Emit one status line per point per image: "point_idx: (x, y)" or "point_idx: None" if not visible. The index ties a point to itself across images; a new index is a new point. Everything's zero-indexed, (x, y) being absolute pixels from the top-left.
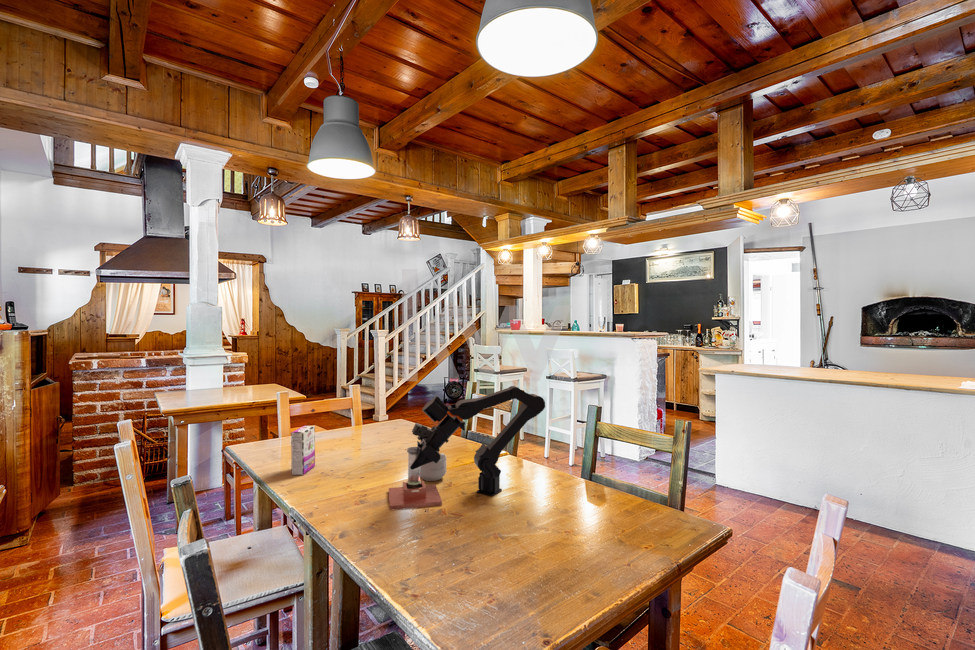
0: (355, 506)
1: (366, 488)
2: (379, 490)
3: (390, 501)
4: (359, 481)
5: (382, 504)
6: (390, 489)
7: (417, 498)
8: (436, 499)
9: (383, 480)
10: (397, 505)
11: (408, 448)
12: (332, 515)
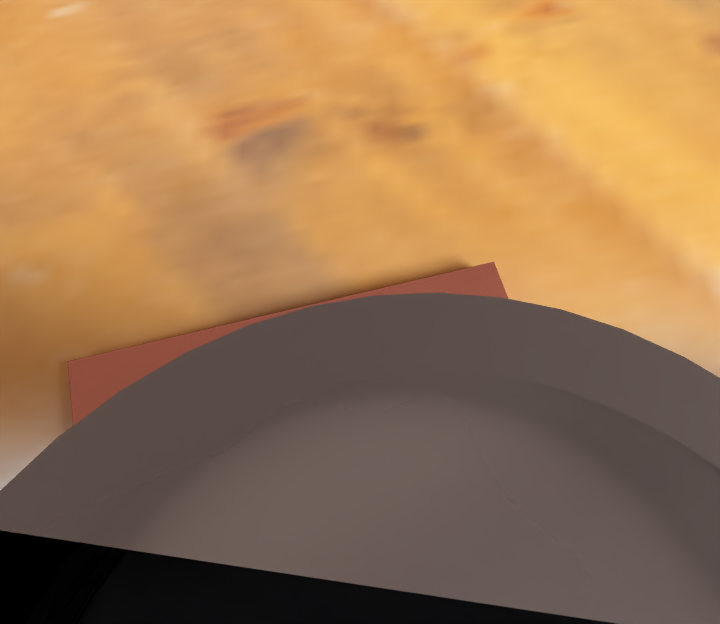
0: (184, 122)
1: (525, 114)
2: (499, 204)
3: (173, 342)
4: (649, 47)
5: (209, 286)
6: (460, 284)
7: None
8: None
9: (715, 188)
10: (74, 424)
11: (484, 362)
12: (48, 37)
